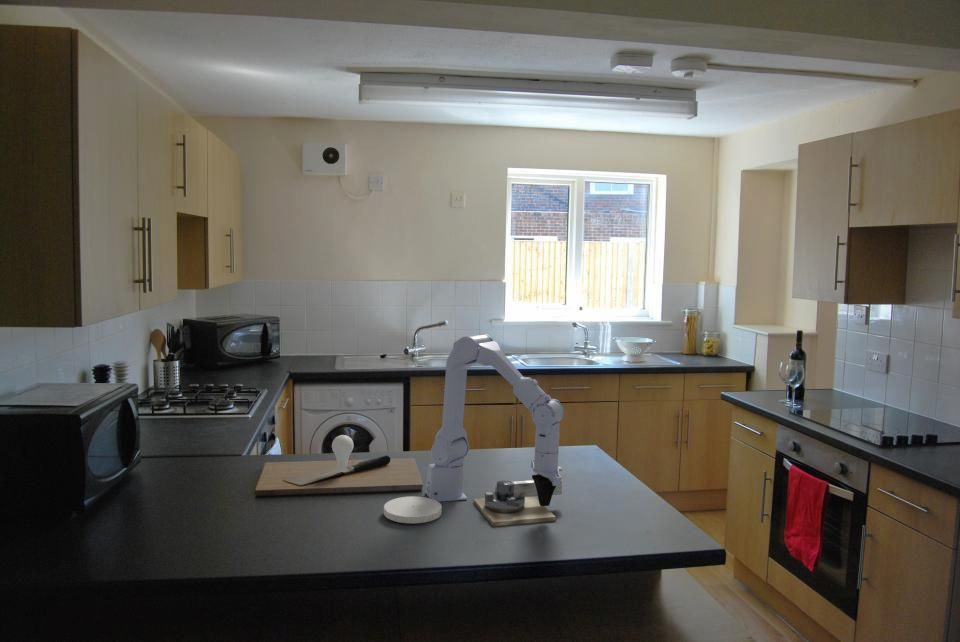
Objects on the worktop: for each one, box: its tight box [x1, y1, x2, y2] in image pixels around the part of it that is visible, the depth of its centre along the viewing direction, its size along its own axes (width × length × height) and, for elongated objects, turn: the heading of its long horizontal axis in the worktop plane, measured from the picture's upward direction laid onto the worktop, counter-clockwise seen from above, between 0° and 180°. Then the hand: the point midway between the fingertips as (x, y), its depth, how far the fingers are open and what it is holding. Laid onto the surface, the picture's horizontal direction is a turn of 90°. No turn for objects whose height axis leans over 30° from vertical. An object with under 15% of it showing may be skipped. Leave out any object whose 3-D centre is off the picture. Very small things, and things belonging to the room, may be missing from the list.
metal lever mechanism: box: [484, 479, 563, 513], centre depth 177 cm, size 20×10×6 cm, turn 107°
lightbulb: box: [331, 434, 355, 469], centre depth 201 cm, size 6×6×11 cm
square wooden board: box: [473, 496, 557, 527], centre depth 176 cm, size 16×17×1 cm
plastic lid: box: [383, 495, 443, 524], centre depth 171 cm, size 14×14×2 cm
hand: (544, 505), depth 171 cm, fingers closed
